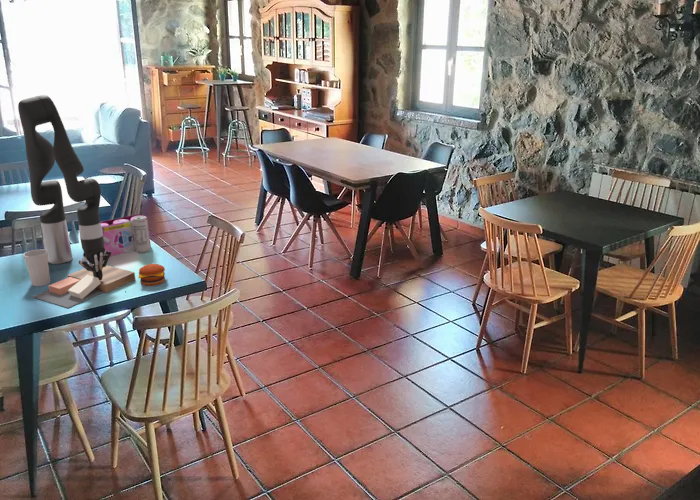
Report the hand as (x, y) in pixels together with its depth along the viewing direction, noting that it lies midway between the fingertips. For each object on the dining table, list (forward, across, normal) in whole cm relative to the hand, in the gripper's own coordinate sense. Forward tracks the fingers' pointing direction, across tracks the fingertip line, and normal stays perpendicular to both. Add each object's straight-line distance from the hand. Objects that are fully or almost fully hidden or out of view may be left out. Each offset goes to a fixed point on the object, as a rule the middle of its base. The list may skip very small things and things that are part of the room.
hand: (98, 279), depth 220 cm
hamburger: (+4, -14, +12) cm, 19 cm away
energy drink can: (+4, -36, -16) cm, 40 cm away
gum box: (+4, -33, -25) cm, 41 cm away
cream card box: (+2, +5, -1) cm, 6 cm away
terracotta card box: (+3, +6, -10) cm, 13 cm away
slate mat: (+4, +9, -6) cm, 11 cm away
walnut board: (+4, -5, -5) cm, 8 cm away
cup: (+4, +6, -24) cm, 25 cm away
